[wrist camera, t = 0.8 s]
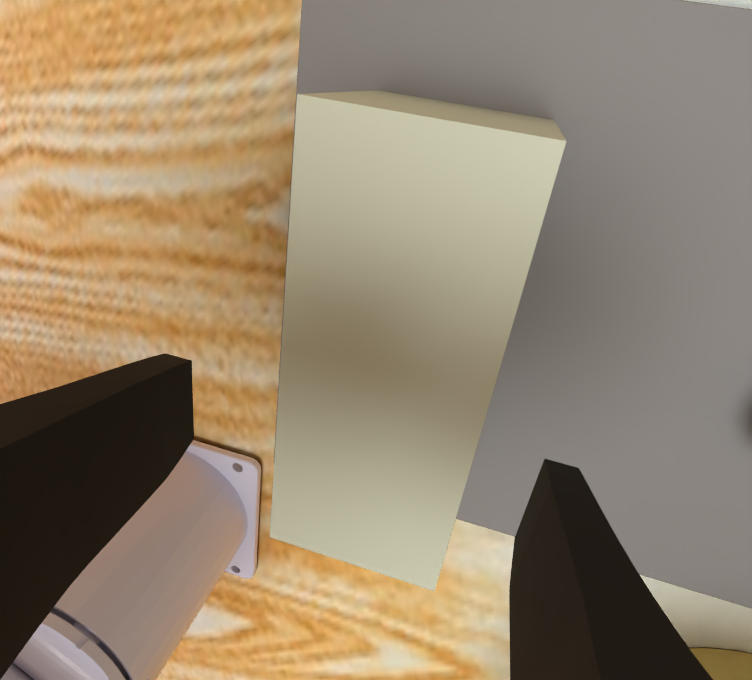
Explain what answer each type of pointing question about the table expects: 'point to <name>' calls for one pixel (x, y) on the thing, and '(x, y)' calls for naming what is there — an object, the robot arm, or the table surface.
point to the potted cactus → (725, 663)
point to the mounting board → (604, 254)
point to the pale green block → (398, 315)
